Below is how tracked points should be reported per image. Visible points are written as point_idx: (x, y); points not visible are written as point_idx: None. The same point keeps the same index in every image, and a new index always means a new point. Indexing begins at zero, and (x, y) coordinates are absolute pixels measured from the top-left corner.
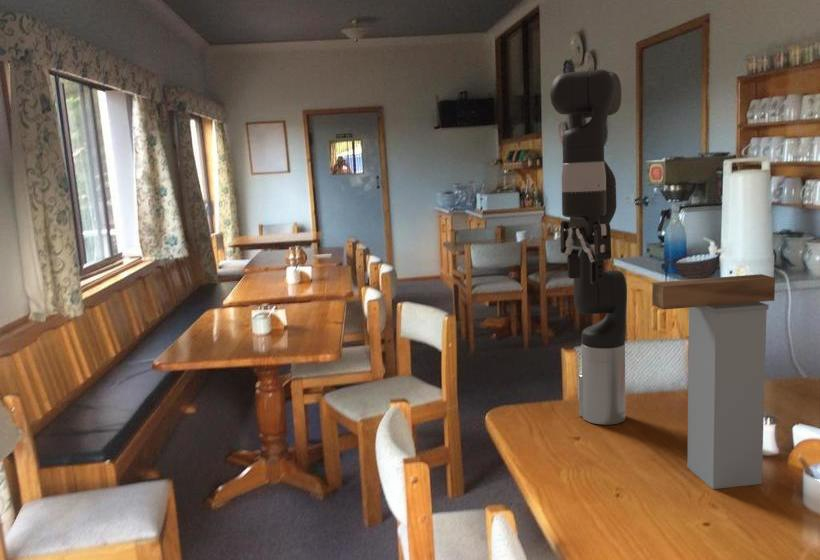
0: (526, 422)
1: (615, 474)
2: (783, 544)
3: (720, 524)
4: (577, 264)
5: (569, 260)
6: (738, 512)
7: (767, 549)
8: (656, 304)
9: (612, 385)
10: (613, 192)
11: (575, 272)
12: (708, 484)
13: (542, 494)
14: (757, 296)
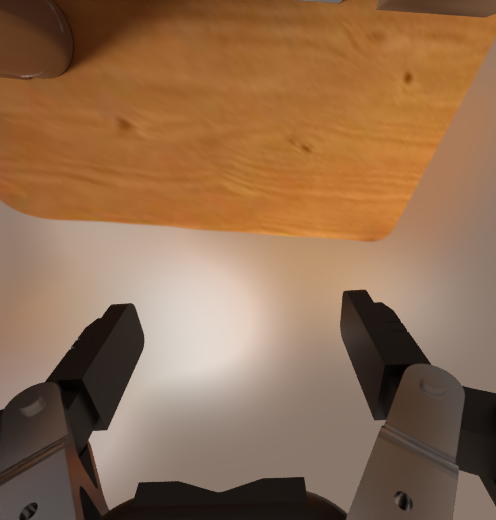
0: (56, 176)
1: (254, 124)
2: None
3: (417, 59)
4: (109, 359)
5: (109, 416)
6: None
7: (486, 38)
8: (425, 9)
9: (24, 16)
10: None
11: (130, 337)
12: (327, 1)
13: (277, 227)
14: None
